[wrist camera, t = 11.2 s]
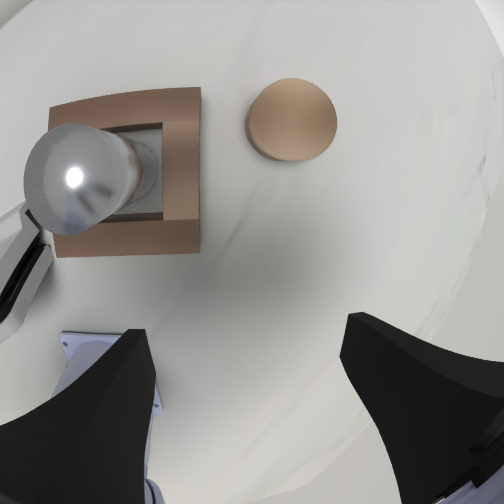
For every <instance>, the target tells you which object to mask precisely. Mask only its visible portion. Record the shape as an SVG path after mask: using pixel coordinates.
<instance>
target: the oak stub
mask: <svg viewBox="0 0 504 504" xmlns="http://www.w3.org/2000/svg"><path fill="white" fill-rule="evenodd" d="M336 129H337V116H336V112H335V109H334V106H333V104H332V102H331V100H330V99H329V97H328V96H327V95H326V94H325V93H324V92H323V91H322V90H321V89H320V88H319V87H317V86H316V85H314V84H313V83H310V82H308V81H305V80H302V79H296V78H288V79H282V80H279V81H276V82H274V83H272V84H271V85H269V86H268V87H267V88H265V89H264V90H263V92H262V93H261V94H260V95H259V96H258V97H257V99H256V100H255V101H254V102H253V103H252V105H251V106H250V108H249V109H248V111H247V114H246V117H245V131H246V135H247V138H248V140H249V142H250V143H251V145H252V146H253V148H254V149H255V150H256V151H257V152H259V153H260V154H261V155H263V156H265V157H267V158H269V159H273V160H278V161H297V160H308V159H312V158H314V157H317V156H319V155H320V154H322V153H323V152H324V151H325V150H326V149H327V148H328V147H329V146H330V144H331V143H332V141H333V139H334V137H335V134H336Z"/></svg>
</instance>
